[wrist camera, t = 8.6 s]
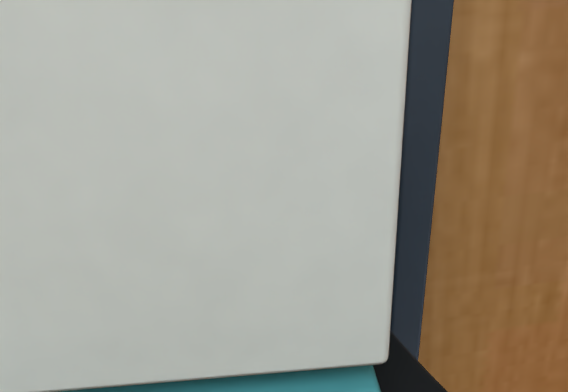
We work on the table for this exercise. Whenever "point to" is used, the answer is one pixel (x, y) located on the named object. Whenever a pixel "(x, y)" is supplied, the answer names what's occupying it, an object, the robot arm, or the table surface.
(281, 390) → the teal block
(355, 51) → the cream block
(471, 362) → the table surface
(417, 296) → the frame
